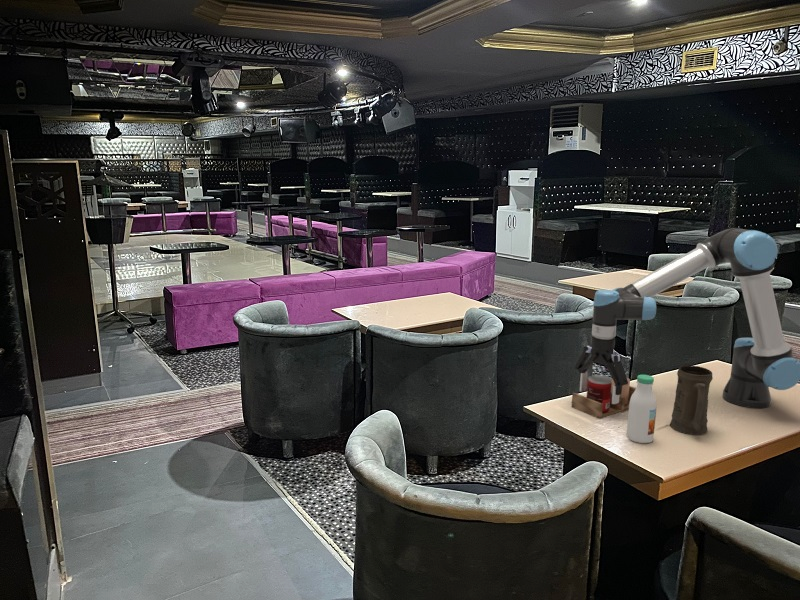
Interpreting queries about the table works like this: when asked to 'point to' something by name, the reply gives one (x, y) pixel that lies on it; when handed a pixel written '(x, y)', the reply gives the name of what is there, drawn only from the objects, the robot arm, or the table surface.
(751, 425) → the table surface
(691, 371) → the beer stein
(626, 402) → the peach rounded block
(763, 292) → the robot arm
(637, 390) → the milk bottle
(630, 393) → the rack
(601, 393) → the canned food
